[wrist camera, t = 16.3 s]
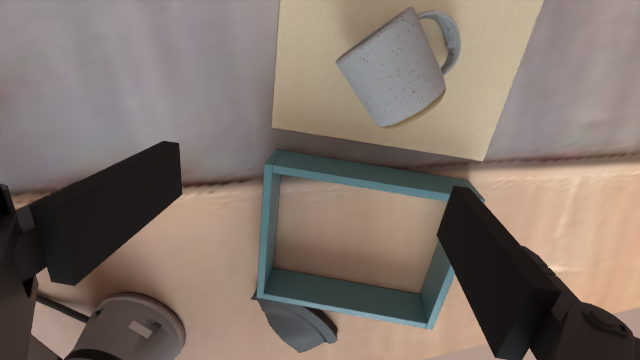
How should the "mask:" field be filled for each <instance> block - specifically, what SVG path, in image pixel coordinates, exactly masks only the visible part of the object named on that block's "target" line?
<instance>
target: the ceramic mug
mask: <svg viewBox="0 0 640 360" xmlns="http://www.w3.org/2000/svg"><path fill="white" fill-rule="evenodd" d="M426 18H427V19H433V20H435V21H436V22H437V23H438V24H439V25H440V27H441V29H442V31H443V34H444V37H445V40H446V47H447V48H448V55H447V58H446V61H445V63H444V64H443V65H442V67H441V68H440V66H439V64H438V62H437V60H436V58H435V56H434V54H433V52H432V49H431V47H430V45H429V42H428V40H427V38H426V35H425V33H424V31H423V28H422V26H421V24H420V21H419V20H420V19H426ZM460 49H461V39H460V33H459V30H458V27H457V25H456V23H455V21H454V20H453V18H452V17H451V16H450V15H448V14H447V13H445V12H441V11H436V10H431V11H425V12H422V13H420V14H416V12H415V10H414V9H413V7H409V8H407V9H406V10H404V11H403V12H401V13H399V14H398V15H396V16H395V17H393V18H392V19H390V20H389V21H387V22H386V23H384V24H383V25H382V26H380V27H379V28H378V29H376V30H375V31H373V32H372V33H370V34H369V35H367V36H366V37H365V38H363V39H362V40H360V41H359V42H358V43H356V44H355V45H354V46H353V47H351V48H350V49H348V50H347V51H346V52H345V53H343V54H342V55H341V56H340V57H339V58H338V59H337V60H336V64H337V66H338V68H339V69H340V71H341V72H342V74H343V75H344V76H345V78H346V80H347V81H348V83H349V84H350V86H351V87H352V89H353V90H354V92H355V93H356V95H357V96H358V98H359V99H360V101H361V102H362V104H363V105H364V107H365V109H366V110H367V112H368V113H369V115H370V116H371V117H372V119H373V120H374V121H375V122H376V123H377V124H378V125H379V126H380V127H382V128H386V129H395V128H399V127H402V126H405V125H407V124H409V123H411V122H413V121H415V120H417V119H419V118H421V117H422V116H424V115H425V114H426V113H428V112H429V111H430V110H432V109H433V108H434V107H435V106H436V105H437V104H438V103H439V102H440V101H441V100H442V98H443V96H444V95H445V91H446V85H445V80H444V76H445V75H446V74H447V73H448V72H449V71H450V70H451V69H452V68H453V67H454V65H455V64H456V62H457V60H458V58H459V54H460Z"/></svg>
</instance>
